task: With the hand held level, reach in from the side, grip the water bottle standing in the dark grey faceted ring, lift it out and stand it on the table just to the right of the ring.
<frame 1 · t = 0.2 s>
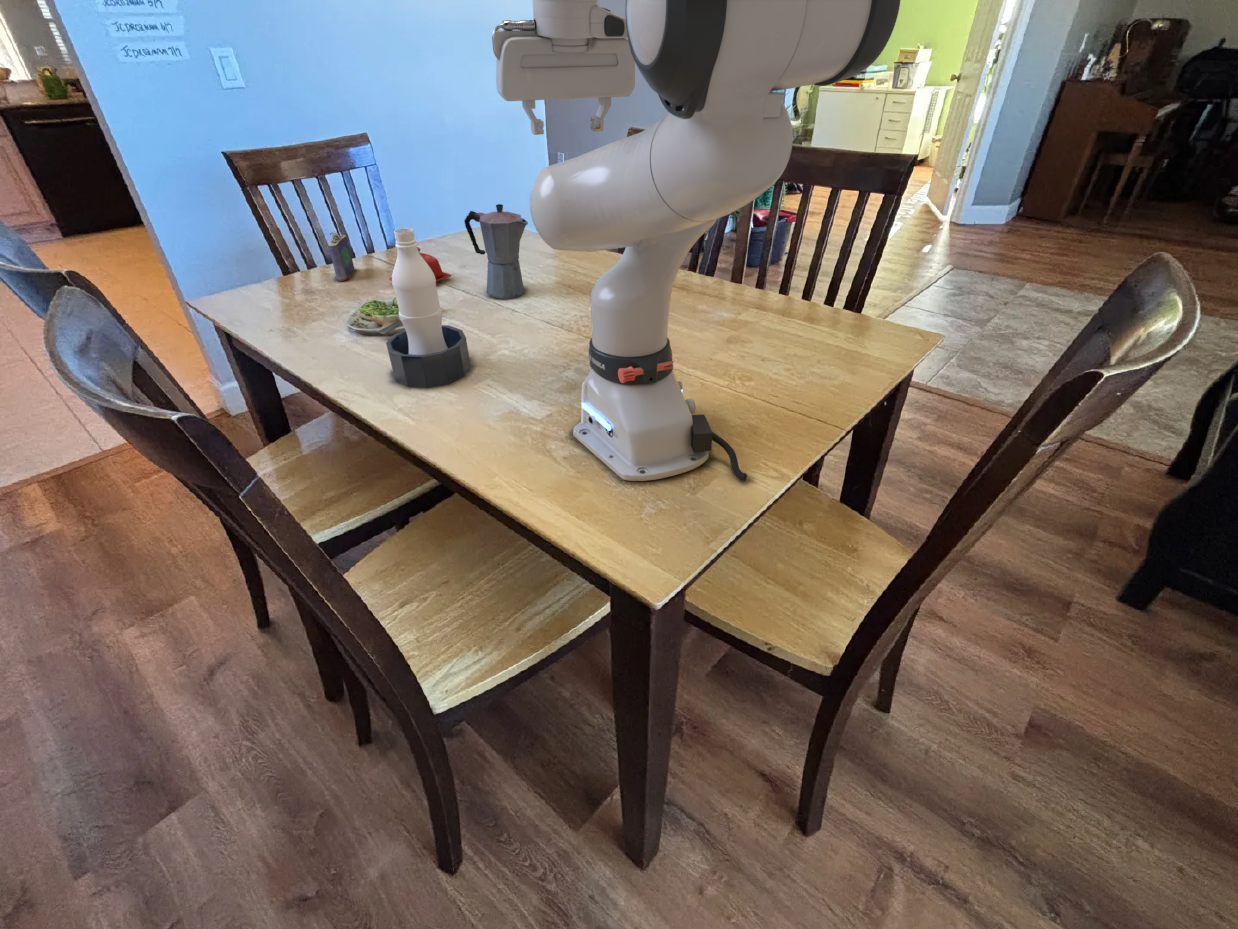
hand: (567, 132, 94), 39 cm above the table, tool pointing down, fingers open, 8 cm apart
butter dish: (421, 282, 155), on the table
avocado toast plate: (393, 320, 135), on the table
moka pot: (504, 293, 148), on the table
water bottle: (432, 370, 115), resting in dark grey faceted ring
dark grey faceted ring: (432, 369, 115), on the table
flask: (346, 276, 159), on the table
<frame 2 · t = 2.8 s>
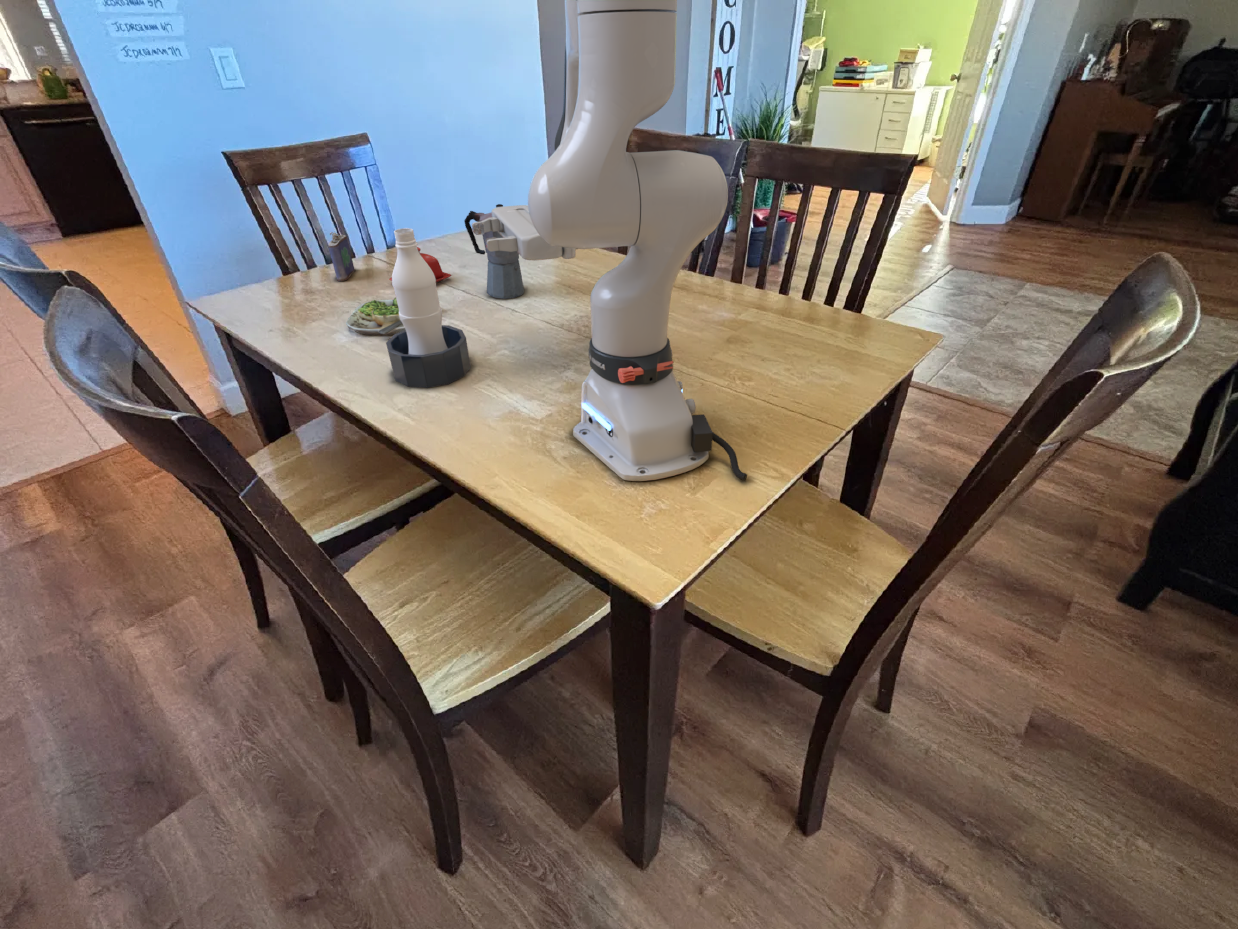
hand: (479, 236, 106), 23 cm above the table, tool horizontal, fingers open, 8 cm apart
nothing on the table moved.
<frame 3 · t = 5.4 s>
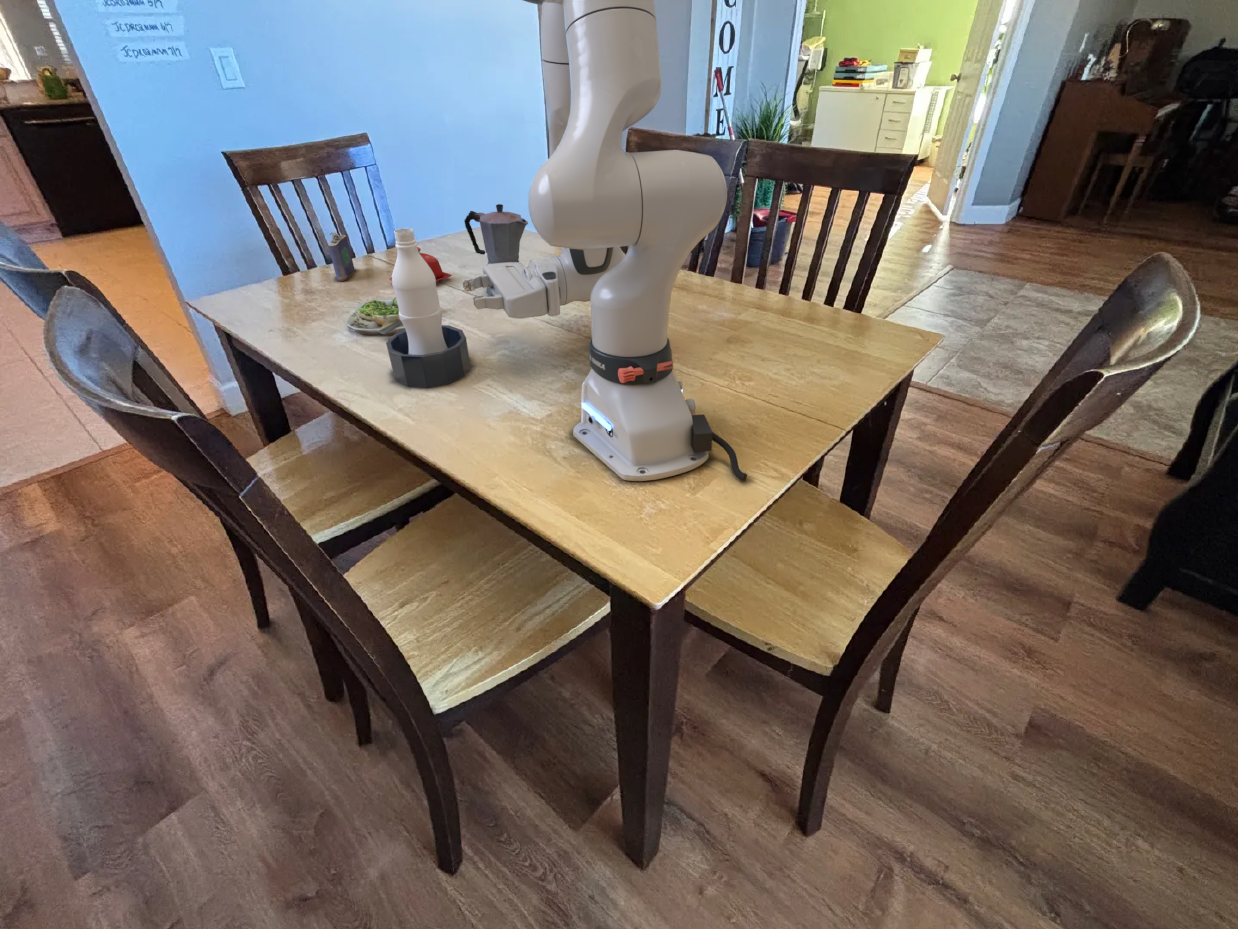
hand: (468, 294, 110), 13 cm above the table, tool horizontal, fingers open, 8 cm apart
nothing on the table moved.
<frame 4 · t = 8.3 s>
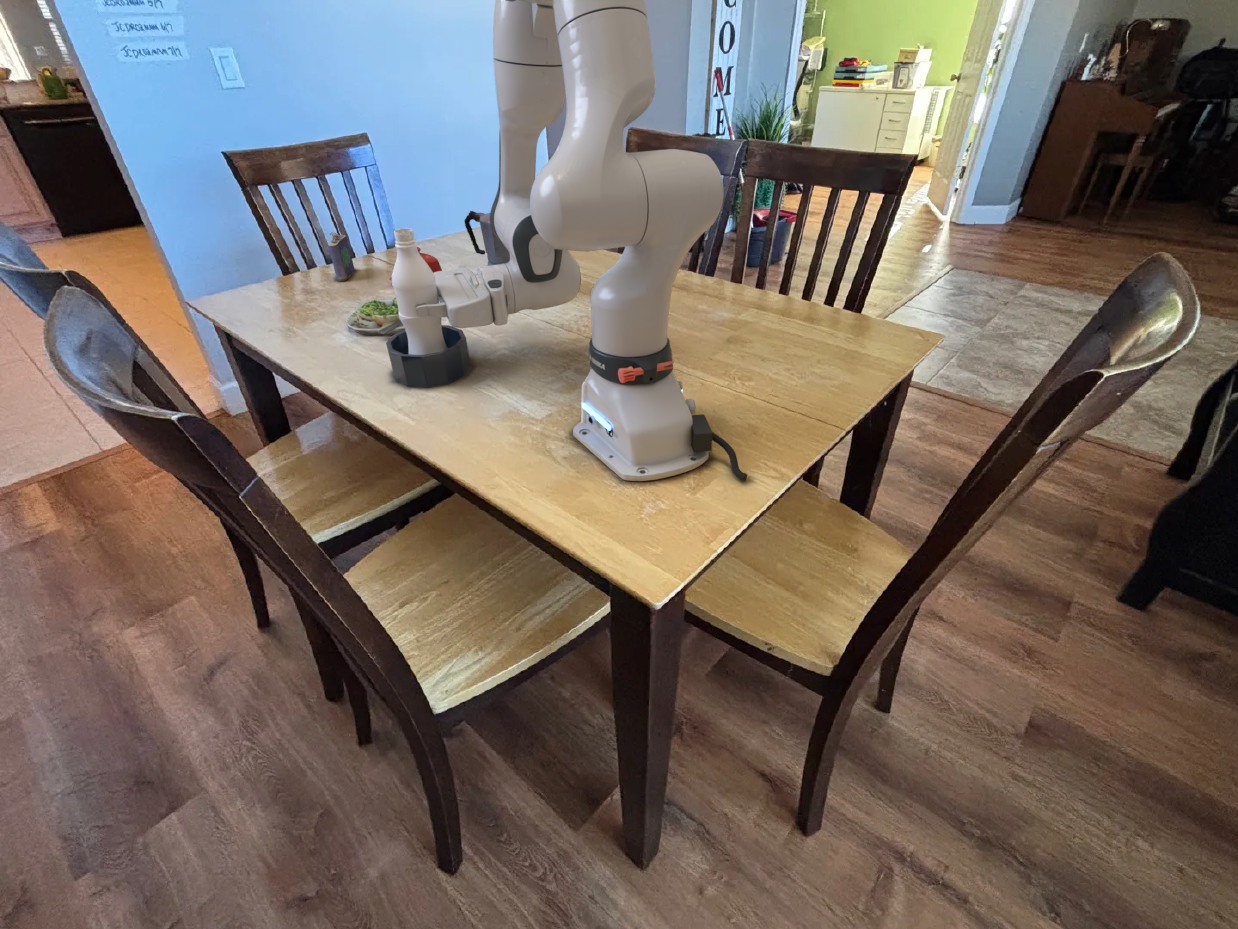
hand: (413, 302, 107), 13 cm above the table, tool horizontal, fingers closed on water bottle, 7 cm apart
water bottle: (432, 370, 115), resting in dark grey faceted ring, touching gripper
everything else where it was.
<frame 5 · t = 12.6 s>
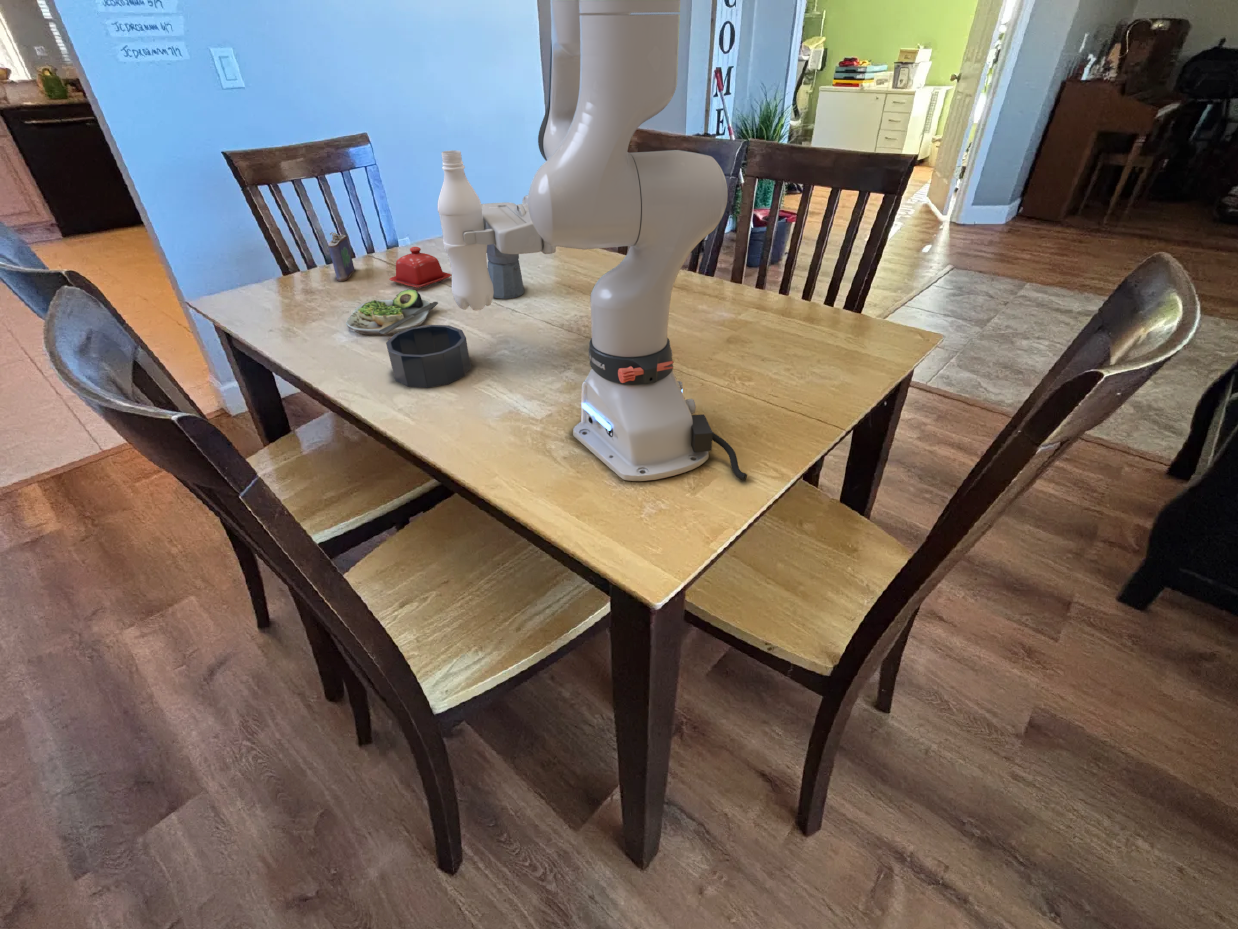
hand: (458, 231, 104), 24 cm above the table, tool horizontal, fingers closed on water bottle, 7 cm apart
water bottle: (475, 306, 112), point 11 cm above the table, touching gripper
everything else where it was.
when the fingers open (13 cm above the table, at t = 17.1 s): water bottle stays where it is, on the table.
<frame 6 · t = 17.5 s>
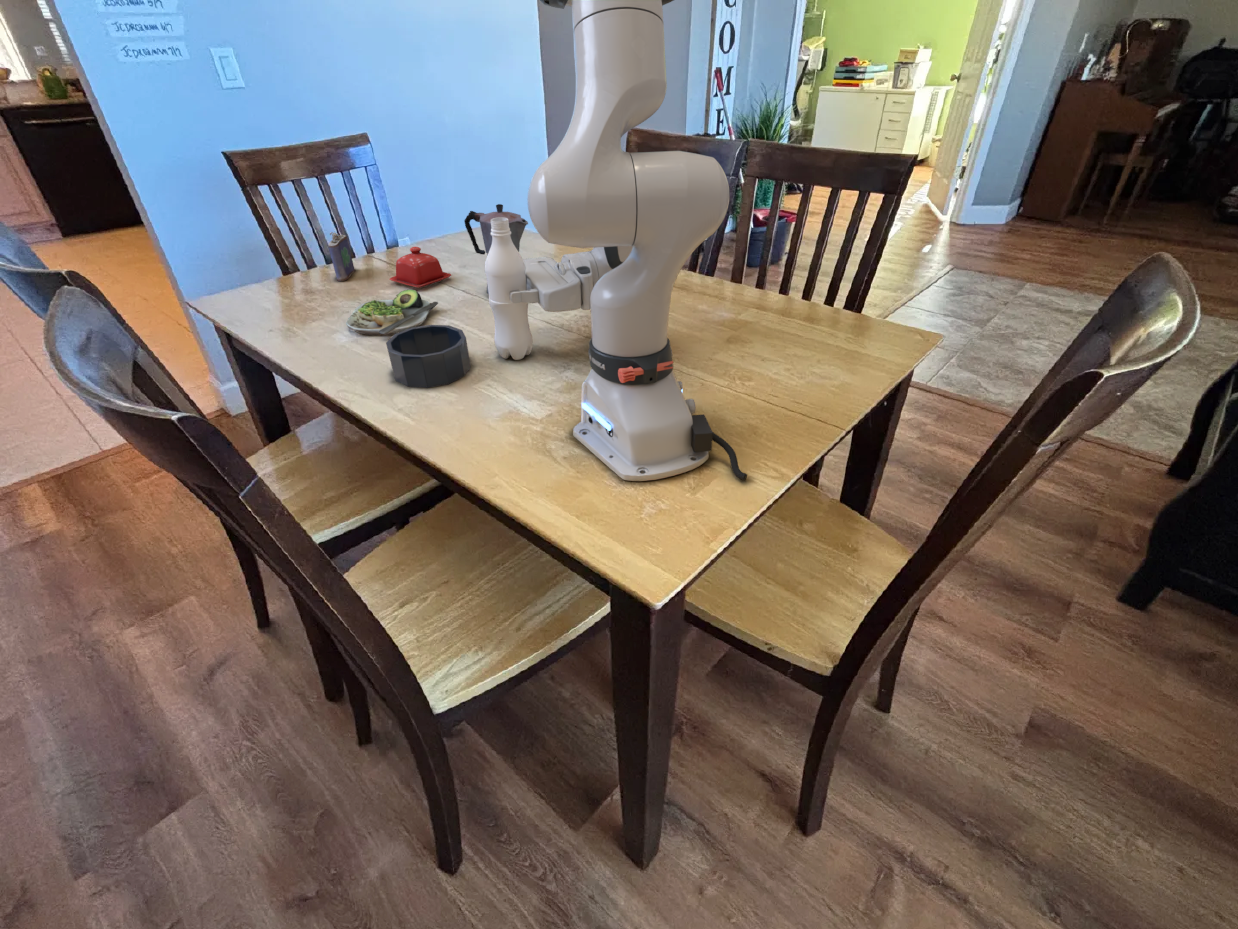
hand: (503, 288, 112), 13 cm above the table, tool horizontal, fingers open, 8 cm apart
water bottle: (515, 355, 120), on the table
everything else where it was.
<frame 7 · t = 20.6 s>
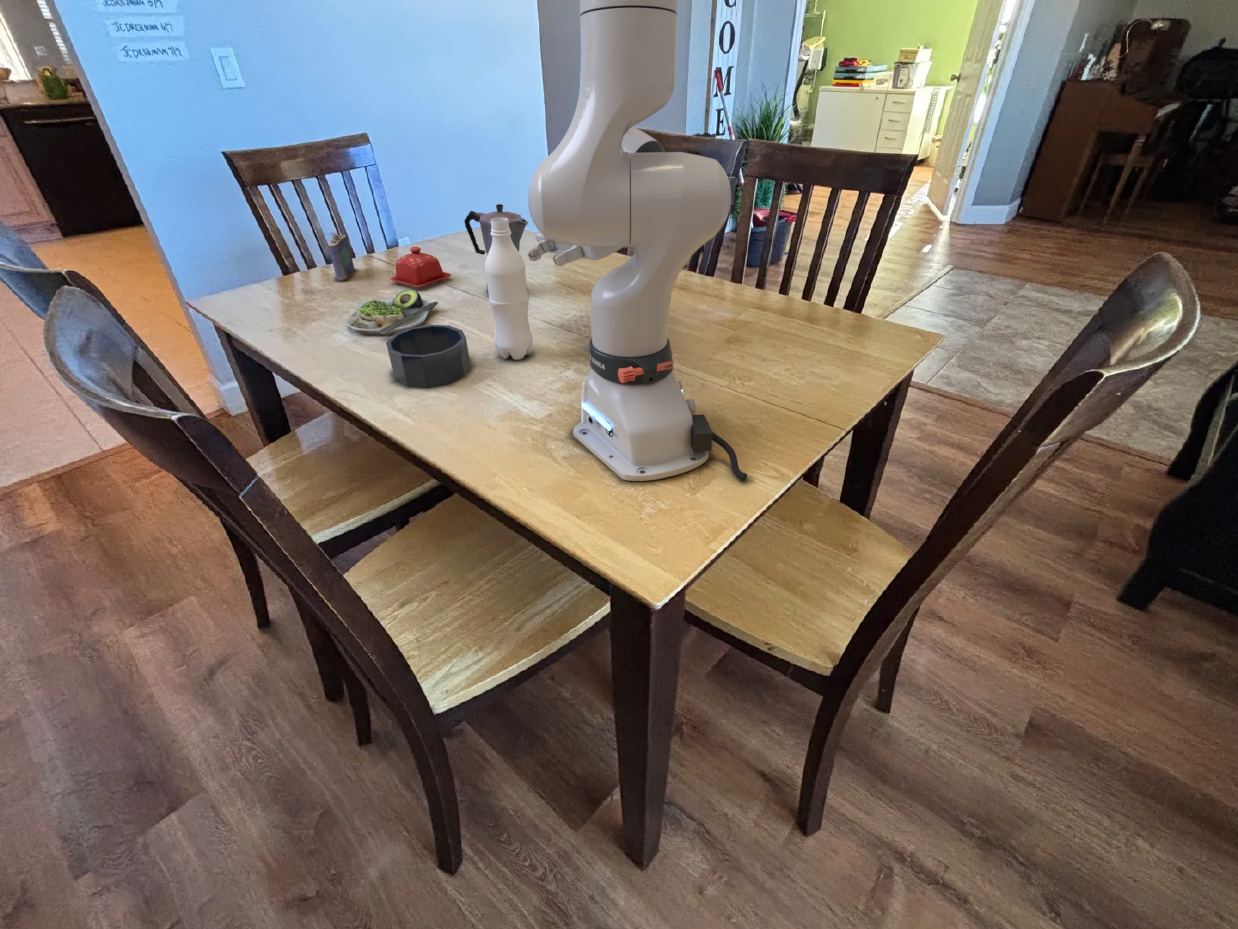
hand: (542, 259, 111), 18 cm above the table, tool tilted 75°, fingers open, 8 cm apart
nothing on the table moved.
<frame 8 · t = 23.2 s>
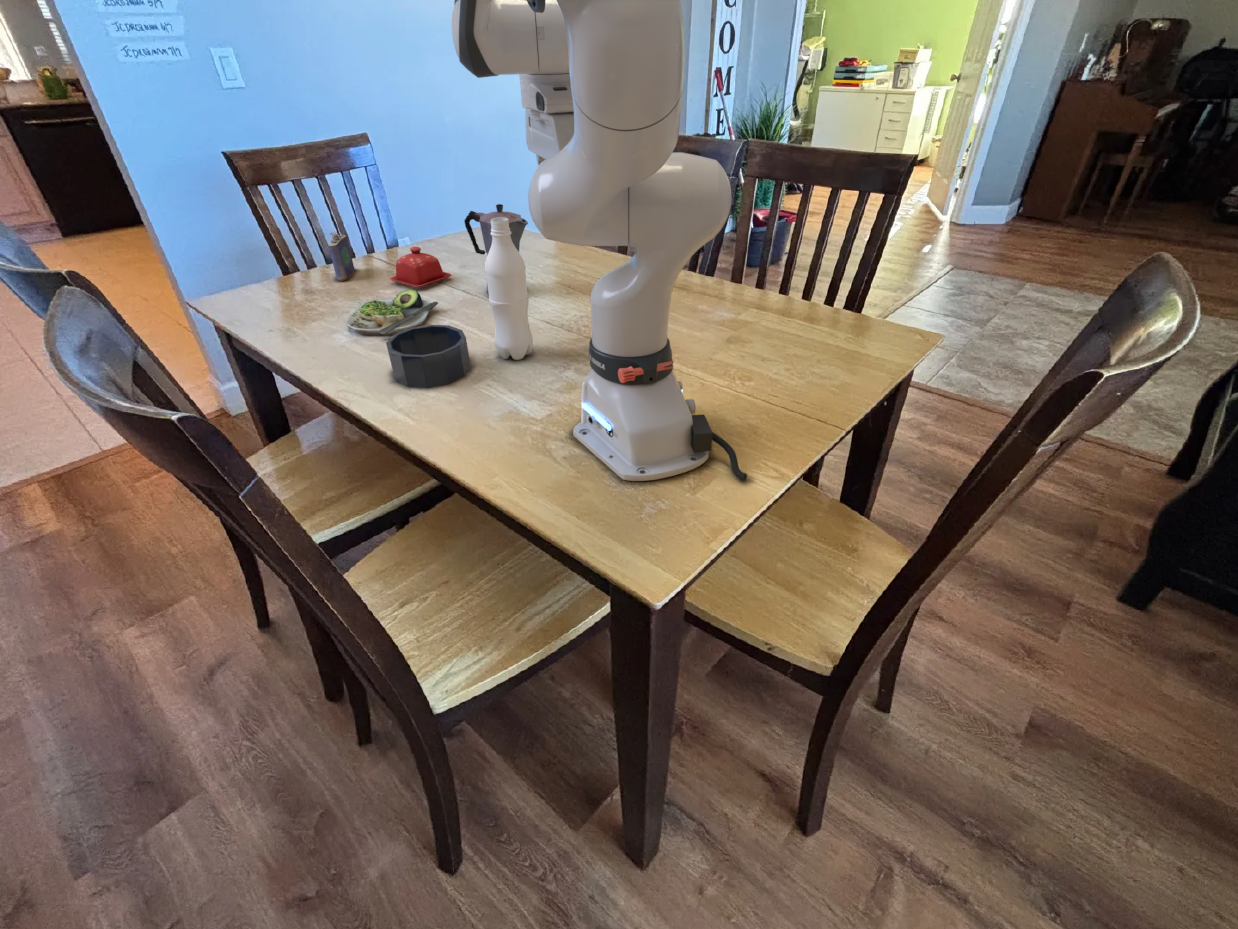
hand: (555, 188, 106), 29 cm above the table, tool pointing down, fingers open, 8 cm apart
nothing on the table moved.
at the end: water bottle inside the target area (0.7 cm from its centre), on the table; water bottle tilted 0°; the gripper is holding nothing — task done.
